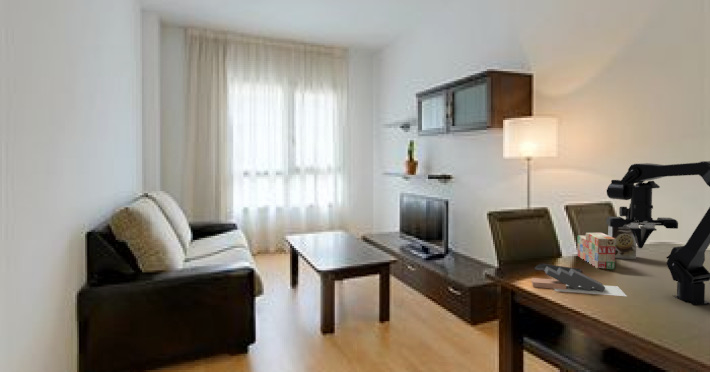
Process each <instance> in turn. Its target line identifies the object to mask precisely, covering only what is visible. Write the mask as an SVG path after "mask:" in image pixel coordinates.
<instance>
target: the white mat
mask: <svg viewBox="0 0 710 372" xmlns="http://www.w3.org/2000/svg"><path fill="white" fill-rule="evenodd" d="M603 286H604V287H605V289H604V291H603V292H602V291H600V290H598V289H596V288H594V287H592V288H591V290H590V291H589V290H587V289H585V288H583V287H581V286H578V288H577V289H574V288H572V287H570V286H568V285H566V289H555V288H553V290H554V292H562V293H577V294H590V295H605V296H616V297H617V296H618V297H627V294H625V292H624V291H623V290H622V289H621V288H620V287H619V286H617V285H605V284H603Z"/></svg>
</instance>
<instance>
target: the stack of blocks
mask: <svg viewBox="0 0 710 372" xmlns="http://www.w3.org/2000/svg"><path fill="white" fill-rule="evenodd" d="M576 237H577V238H576V239H577V240H576V241H577V256H578V257H579V258H580V259H582V260H583V259H584V260H583V261H584V262H586V261H587V262H586V263H588V262H589V263H588V264H590V265H591V264H592V265H591V266H593V267H594V266H595V267H594V268H596V269H597V268H605V269H604V270H615V268H616V258H615V243H616V239H615V238H613V237H611V236H609V235H608V234H605V233H603V232H585V235H577V236H576Z"/></svg>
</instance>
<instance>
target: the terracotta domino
mask: <svg viewBox="0 0 710 372" xmlns="http://www.w3.org/2000/svg"><path fill="white" fill-rule="evenodd" d="M531 285H532V288H533V287H534V288H543V289H546V288H547V289H554V288H555V289H566V284H564V283H562V282H560V281H559V280H557V279H555V278H539V277H538V278H536V277H531Z"/></svg>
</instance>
